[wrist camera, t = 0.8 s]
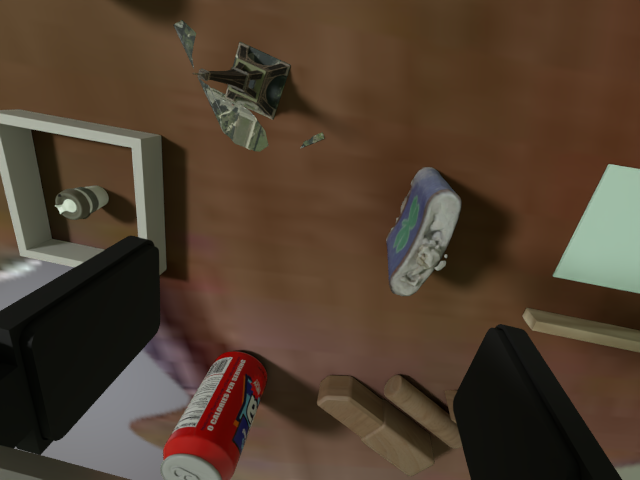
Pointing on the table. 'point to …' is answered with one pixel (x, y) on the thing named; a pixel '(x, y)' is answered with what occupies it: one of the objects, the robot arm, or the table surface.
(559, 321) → the stop rail
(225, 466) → the soda can
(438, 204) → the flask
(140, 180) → the cup tray
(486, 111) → the table surface
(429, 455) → the wooden block set
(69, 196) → the grey rounded piece
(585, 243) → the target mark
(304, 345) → the table surface
